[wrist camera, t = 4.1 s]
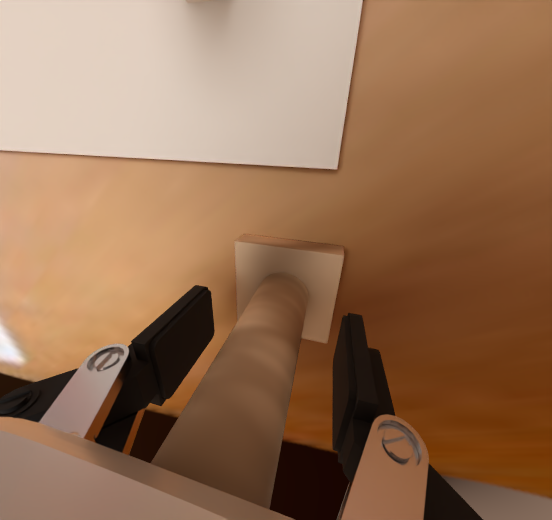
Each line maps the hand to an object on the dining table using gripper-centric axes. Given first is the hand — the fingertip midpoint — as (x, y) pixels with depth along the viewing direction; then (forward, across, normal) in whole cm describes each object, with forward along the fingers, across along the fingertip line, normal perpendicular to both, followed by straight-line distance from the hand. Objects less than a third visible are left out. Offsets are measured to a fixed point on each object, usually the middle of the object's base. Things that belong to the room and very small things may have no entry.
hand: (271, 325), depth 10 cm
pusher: (+4, 0, 0) cm, 4 cm away
